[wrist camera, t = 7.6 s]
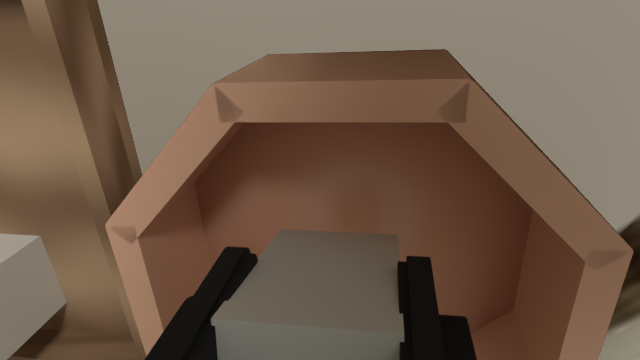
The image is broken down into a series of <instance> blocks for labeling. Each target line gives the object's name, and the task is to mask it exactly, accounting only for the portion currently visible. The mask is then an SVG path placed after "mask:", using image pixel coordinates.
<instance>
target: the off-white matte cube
mask: <svg viewBox="0 0 640 360" xmlns="http://www.w3.org/2000/svg"><path fill="white" fill-rule="evenodd" d="M398 261H400V259H399V242H398V235H396V234H373V233H350V232H327V231H303V230H280V231H279V232H278V234H277V235H276V236H275V238H274V239H273V240H272V241H271V243H270V244H269V245H268V246H267V248H266V249H265V250H264V252H263V253H262V254H261V255H260V257H259V258H258V263H257V264H256V266H255V267H254V268H253V269H252V271H251V272H250V273H249V275H248V276H247V277H246V279H245V280H244V281H243V283H242V284H241V285H240V286H239V288H238V289H237V290H236V292H235V293H234V294H233V296H232V297H231V298H230V299H229V301H224V303H223V304H222V305H221V306H220V308H219V309H218V310H217V311H216V313H215V314H214V315H213V317H212V318H211V325H212V326H215V330H216V344H217V357H218V360H399V355H400V342H404V323H403V314H400V313H399V297H398V275H397V265H398Z"/></svg>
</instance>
